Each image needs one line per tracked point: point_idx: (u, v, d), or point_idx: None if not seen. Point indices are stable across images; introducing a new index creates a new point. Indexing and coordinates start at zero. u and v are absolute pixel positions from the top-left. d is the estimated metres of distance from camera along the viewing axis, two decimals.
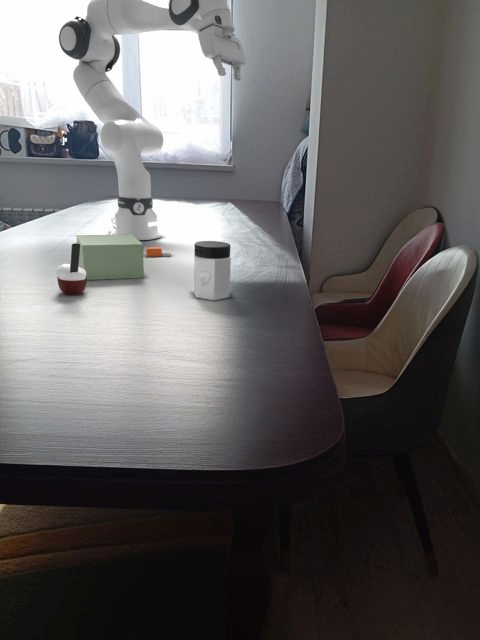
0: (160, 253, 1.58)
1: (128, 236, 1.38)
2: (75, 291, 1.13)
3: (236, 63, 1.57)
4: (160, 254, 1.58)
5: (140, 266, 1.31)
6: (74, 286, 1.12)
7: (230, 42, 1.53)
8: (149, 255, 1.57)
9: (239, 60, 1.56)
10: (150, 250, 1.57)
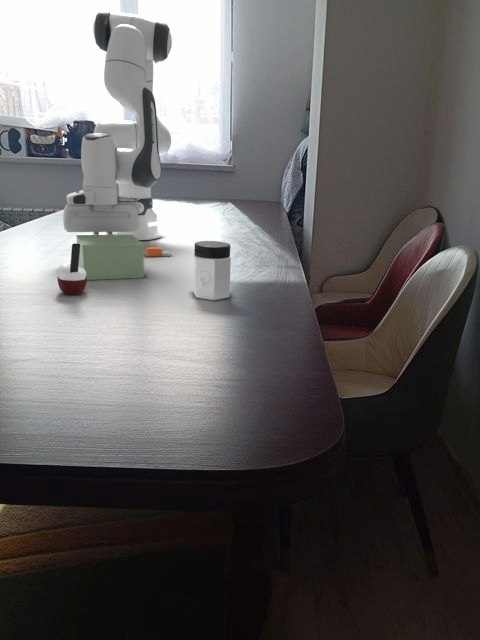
0: (160, 253, 1.58)
1: (128, 236, 1.38)
2: (75, 291, 1.13)
3: (107, 231, 1.43)
4: (160, 254, 1.58)
5: (140, 266, 1.31)
6: (74, 286, 1.12)
7: (110, 213, 1.41)
8: (149, 255, 1.57)
9: (121, 231, 1.44)
10: (150, 250, 1.57)
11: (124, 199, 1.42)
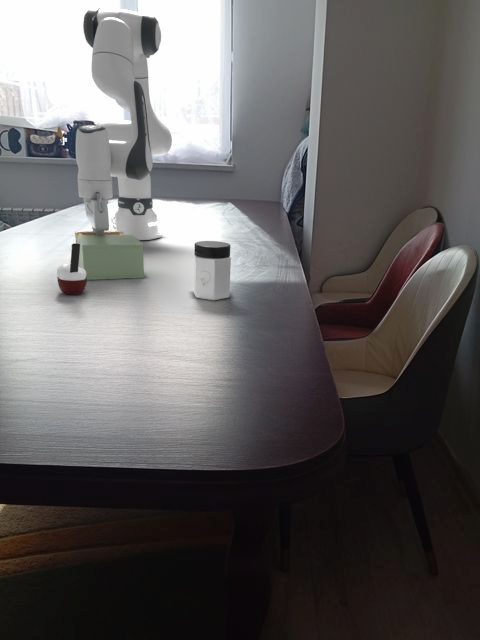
0: None
1: (128, 236, 1.38)
2: (75, 291, 1.13)
3: None
4: None
5: (140, 266, 1.31)
6: (74, 286, 1.12)
7: (91, 207, 1.38)
8: None
9: None
10: None
11: (96, 194, 1.33)
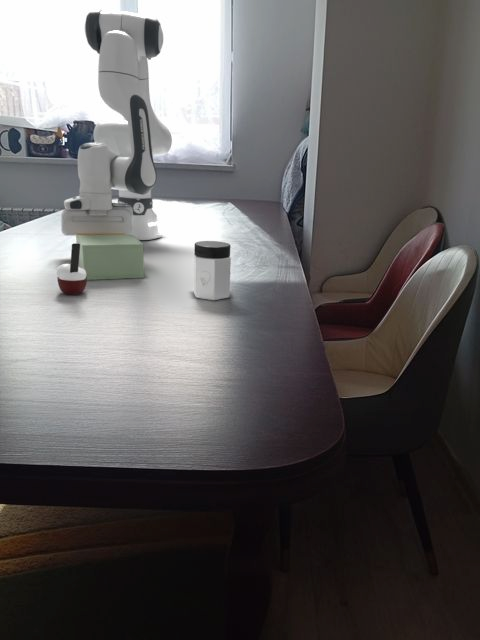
0: None
1: (128, 236, 1.38)
2: (75, 291, 1.13)
3: None
4: None
5: (140, 266, 1.31)
6: (74, 286, 1.12)
7: (105, 218, 1.49)
8: None
9: None
10: None
11: (118, 204, 1.51)
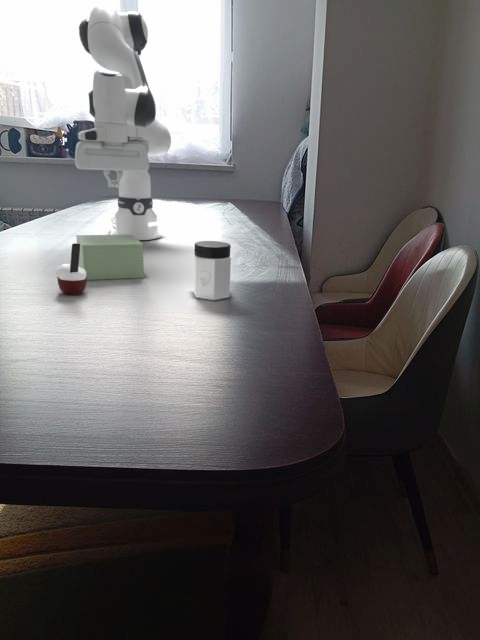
0: None
1: (128, 236, 1.38)
2: (75, 291, 1.13)
3: (117, 170, 1.46)
4: None
5: (140, 266, 1.31)
6: (74, 286, 1.12)
7: (121, 152, 1.44)
8: None
9: (132, 170, 1.47)
10: None
11: (134, 138, 1.45)
